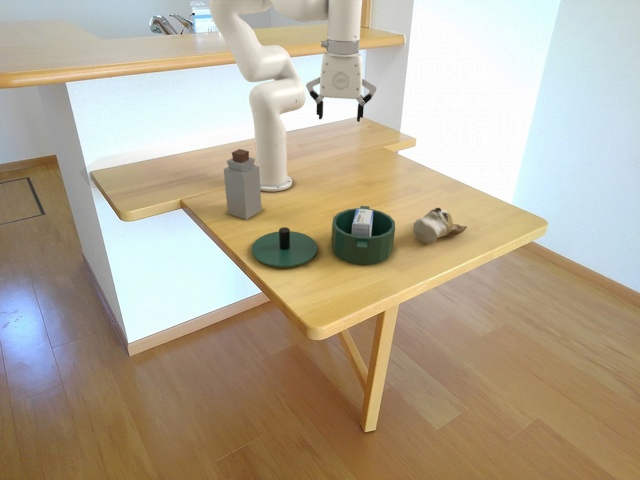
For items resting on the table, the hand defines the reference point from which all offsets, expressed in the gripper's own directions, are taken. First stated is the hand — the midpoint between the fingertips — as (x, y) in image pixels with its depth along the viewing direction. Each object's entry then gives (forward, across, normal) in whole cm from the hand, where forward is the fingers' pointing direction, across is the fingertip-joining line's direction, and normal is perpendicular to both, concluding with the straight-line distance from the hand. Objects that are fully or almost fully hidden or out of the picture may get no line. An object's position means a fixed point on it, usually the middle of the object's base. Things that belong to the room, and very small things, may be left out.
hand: (339, 119), depth 121 cm
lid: (+27, -11, -21) cm, 36 cm away
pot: (+27, +8, -17) cm, 33 cm away
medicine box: (+27, +8, -17) cm, 33 cm away
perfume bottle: (+28, -26, -2) cm, 38 cm away
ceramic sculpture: (+28, +27, -8) cm, 40 cm away
